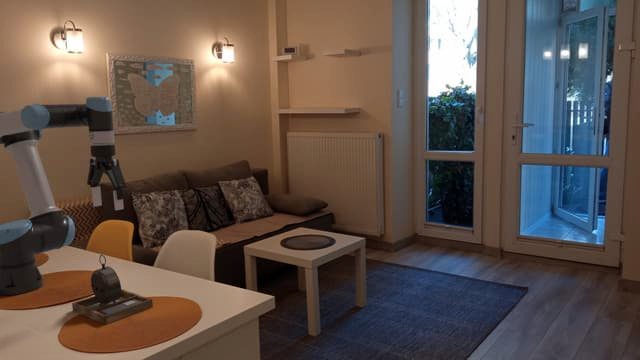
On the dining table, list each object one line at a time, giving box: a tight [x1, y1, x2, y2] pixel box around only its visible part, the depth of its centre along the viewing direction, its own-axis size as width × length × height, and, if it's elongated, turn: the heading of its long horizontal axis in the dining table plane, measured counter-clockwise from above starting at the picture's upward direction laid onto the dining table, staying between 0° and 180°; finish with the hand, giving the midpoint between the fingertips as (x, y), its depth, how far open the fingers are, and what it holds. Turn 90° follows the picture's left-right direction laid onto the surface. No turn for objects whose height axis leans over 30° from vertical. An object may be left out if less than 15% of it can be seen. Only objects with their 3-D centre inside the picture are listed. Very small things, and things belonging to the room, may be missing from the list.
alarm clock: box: [90, 254, 122, 307], centre depth 159 cm, size 11×5×16 cm, turn 50°
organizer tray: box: [71, 288, 154, 325], centre depth 157 cm, size 18×16×3 cm
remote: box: [101, 299, 141, 315], centre depth 154 cm, size 4×11×2 cm, turn 142°
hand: (108, 207), depth 173 cm, fingers open, 13 cm apart
